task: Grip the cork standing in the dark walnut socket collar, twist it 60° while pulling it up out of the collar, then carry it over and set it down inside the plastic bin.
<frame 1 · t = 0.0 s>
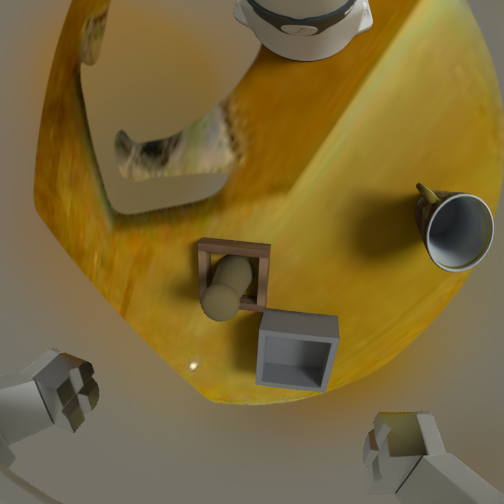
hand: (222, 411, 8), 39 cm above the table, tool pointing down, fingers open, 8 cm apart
socket collar: (235, 271, 50), on the table
ceramic cup: (428, 204, 41), on the table
bin: (297, 340, 54), on the table
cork: (235, 271, 51), resting in socket collar
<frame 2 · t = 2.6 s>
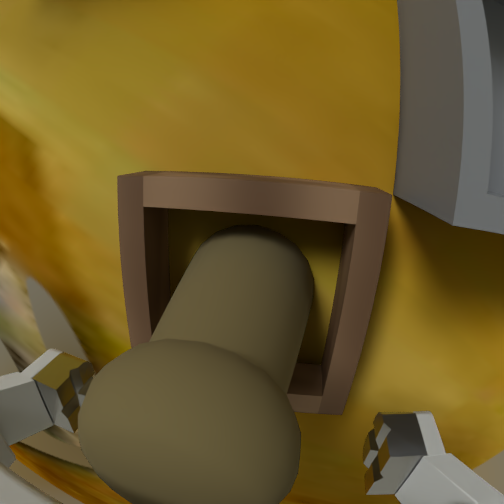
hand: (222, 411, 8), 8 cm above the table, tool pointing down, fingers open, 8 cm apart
socket collar: (249, 288, 15), on the table
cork: (250, 286, 15), resting in socket collar
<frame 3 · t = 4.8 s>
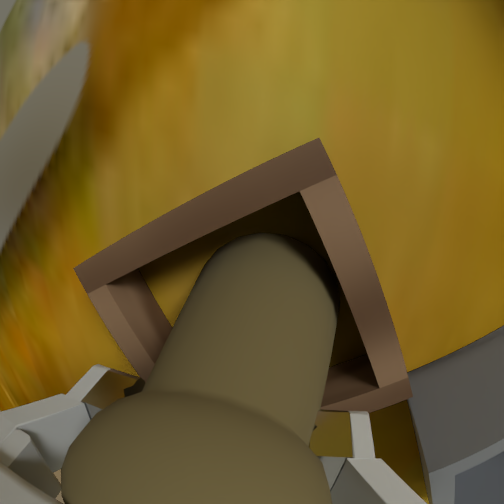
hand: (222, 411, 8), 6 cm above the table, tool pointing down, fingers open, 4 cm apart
socket collar: (252, 311, 14), on the table
bin: (503, 400, 13), on the table
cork: (267, 301, 13), resting in socket collar, touching gripper
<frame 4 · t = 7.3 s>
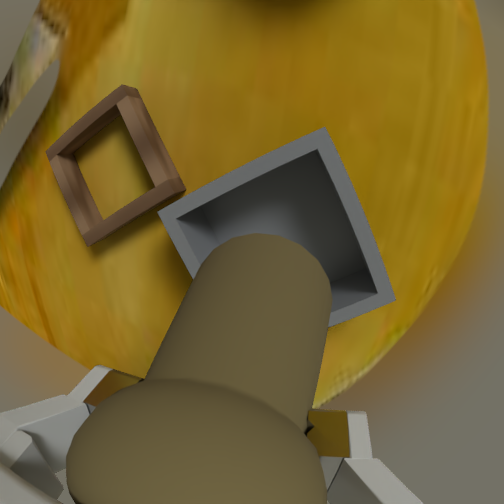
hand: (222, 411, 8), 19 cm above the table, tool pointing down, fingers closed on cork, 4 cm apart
socket collar: (115, 166, 27), on the table
bin: (284, 233, 26), on the table
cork: (262, 300, 14), point 13 cm above the table, touching gripper
when the fingers open (7 cm above the table, at t = 10.0 s): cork stays where it is, resting on bin.
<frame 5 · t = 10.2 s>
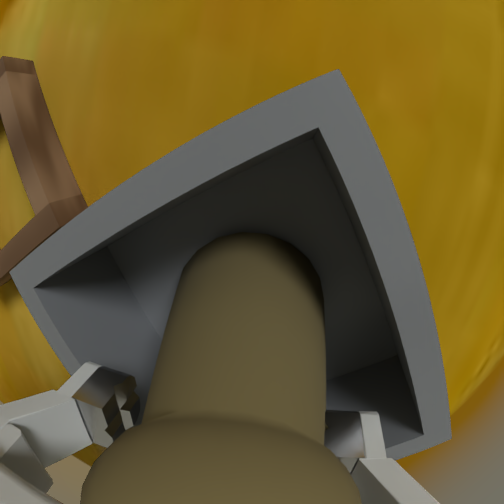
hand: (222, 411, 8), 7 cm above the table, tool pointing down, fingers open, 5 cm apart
socket collar: (8, 179, 15), on the table
bin: (255, 294, 14), on the table
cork: (249, 301, 13), point 1 cm above the table, touching bin, gripper
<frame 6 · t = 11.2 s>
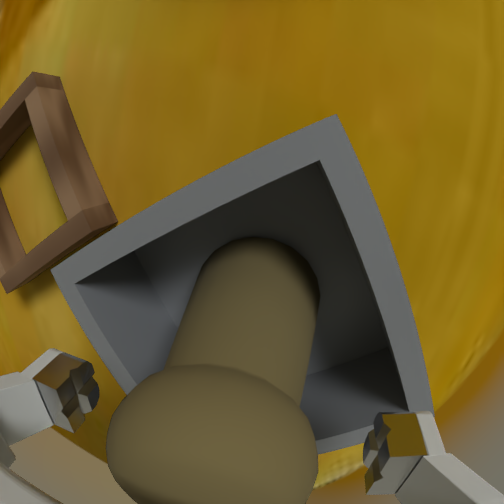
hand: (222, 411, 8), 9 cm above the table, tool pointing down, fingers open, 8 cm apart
socket collar: (35, 186, 17), on the table
bin: (264, 293, 16), on the table
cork: (257, 295, 15), point 1 cm above the table, touching bin
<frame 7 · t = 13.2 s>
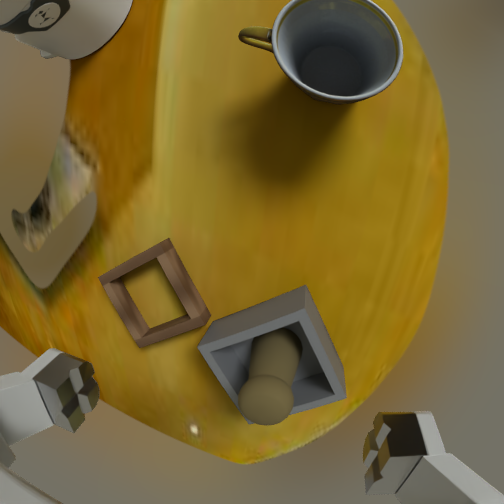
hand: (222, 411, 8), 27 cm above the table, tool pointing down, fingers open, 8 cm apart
socket collar: (156, 292, 38), on the table
ceramic cup: (316, 72, 29), on the table
bin: (279, 346, 37), on the table
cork: (277, 347, 36), point 1 cm above the table, touching bin
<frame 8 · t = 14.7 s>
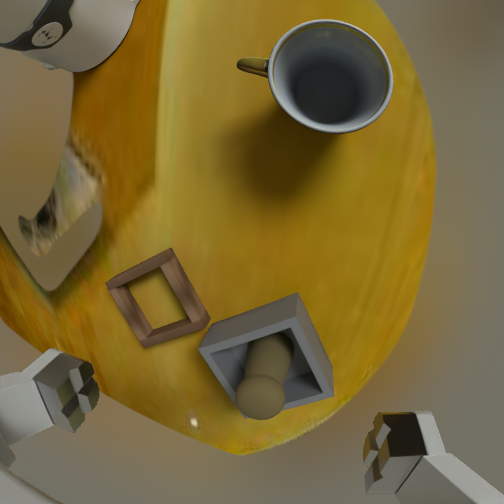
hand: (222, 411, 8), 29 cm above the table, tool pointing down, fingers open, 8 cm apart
socket collar: (159, 297, 41), on the table
ceramic cup: (311, 93, 31), on the table
bin: (273, 346, 41), on the table
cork: (271, 348, 40), point 1 cm above the table, touching bin
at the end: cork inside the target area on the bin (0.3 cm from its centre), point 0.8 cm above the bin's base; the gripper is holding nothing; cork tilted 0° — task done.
